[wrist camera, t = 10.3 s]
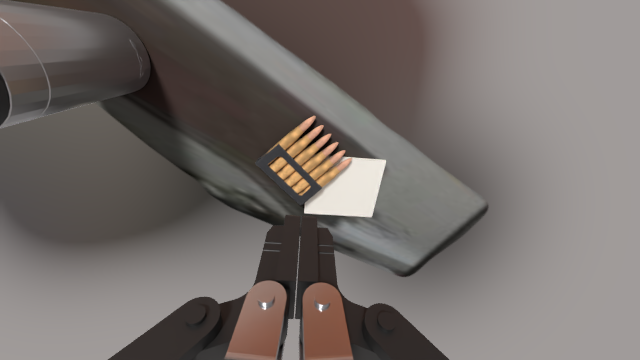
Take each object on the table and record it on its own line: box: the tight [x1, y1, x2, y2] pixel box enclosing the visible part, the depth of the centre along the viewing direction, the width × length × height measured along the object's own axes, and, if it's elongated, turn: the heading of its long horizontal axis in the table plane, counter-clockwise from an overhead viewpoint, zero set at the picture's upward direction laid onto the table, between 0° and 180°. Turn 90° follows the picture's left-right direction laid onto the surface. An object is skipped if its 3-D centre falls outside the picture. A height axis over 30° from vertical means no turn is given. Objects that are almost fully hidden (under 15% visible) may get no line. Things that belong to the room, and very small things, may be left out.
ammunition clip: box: [256, 116, 352, 205], centre depth 38 cm, size 11×2×12 cm
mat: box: [304, 155, 386, 217], centre depth 42 cm, size 13×12×1 cm
